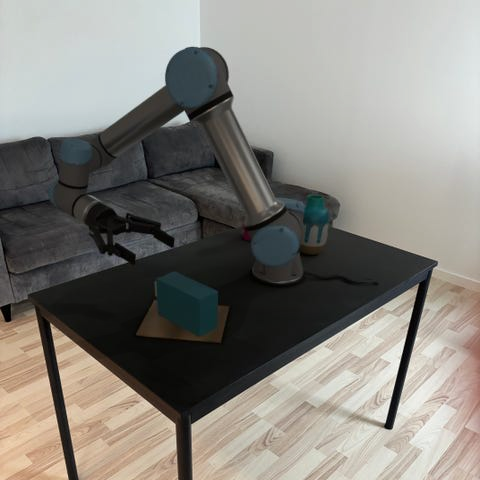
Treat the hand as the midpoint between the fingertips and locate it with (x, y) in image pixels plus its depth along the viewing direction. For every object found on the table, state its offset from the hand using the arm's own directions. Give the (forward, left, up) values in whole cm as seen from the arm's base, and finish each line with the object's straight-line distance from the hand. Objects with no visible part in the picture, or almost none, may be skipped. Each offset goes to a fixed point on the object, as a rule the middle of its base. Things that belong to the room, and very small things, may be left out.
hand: (154, 251), depth 118 cm
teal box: (-8, +7, -14) cm, 18 cm away
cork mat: (-9, +7, -15) cm, 19 cm away
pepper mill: (-21, -54, -15) cm, 59 cm away
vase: (-41, -44, -15) cm, 62 cm away
